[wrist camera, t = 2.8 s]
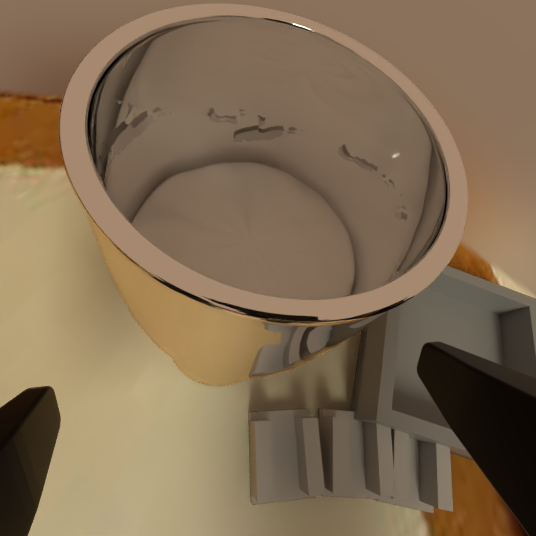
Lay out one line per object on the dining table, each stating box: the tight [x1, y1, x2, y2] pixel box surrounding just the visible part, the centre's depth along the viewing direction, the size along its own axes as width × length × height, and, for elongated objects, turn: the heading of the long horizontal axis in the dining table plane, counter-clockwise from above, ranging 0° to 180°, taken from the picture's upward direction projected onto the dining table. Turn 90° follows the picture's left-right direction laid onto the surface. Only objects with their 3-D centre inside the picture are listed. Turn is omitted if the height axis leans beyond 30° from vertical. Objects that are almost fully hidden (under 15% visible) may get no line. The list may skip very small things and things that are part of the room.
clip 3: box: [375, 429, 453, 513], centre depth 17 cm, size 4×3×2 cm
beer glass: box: [58, 4, 468, 386], centre depth 12 cm, size 7×7×15 cm
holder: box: [350, 266, 536, 460], centre depth 19 cm, size 10×10×3 cm
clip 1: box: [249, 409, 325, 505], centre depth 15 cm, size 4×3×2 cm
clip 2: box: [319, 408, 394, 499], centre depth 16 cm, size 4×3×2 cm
